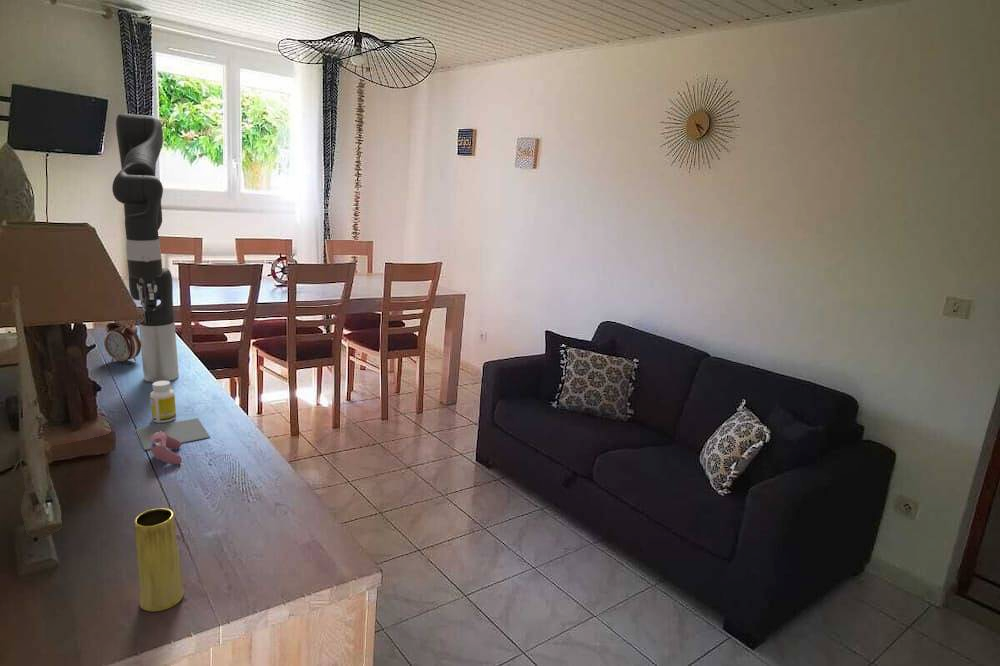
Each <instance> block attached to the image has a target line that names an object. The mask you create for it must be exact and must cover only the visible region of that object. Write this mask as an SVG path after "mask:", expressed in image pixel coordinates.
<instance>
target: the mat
mask: <svg viewBox="0 0 1000 666" xmlns="http://www.w3.org/2000/svg"><path fill="white" fill-rule="evenodd" d="M160 431H161V432H164V433H166V434H167V435H169V436H170V437H173V438H175V439H177V440H178V441H179V442H180V443H181V445H182V444H187V443H191V442H190V441H192V442H195V440H197V441H200V440H199V439H202V440H205V439H204V438H207V439H209V438H208V437H210V438H211V435H210V434H209V433H208V431H207V430H206V428H205V427H204V426H203V423H202V422H201V420H199V418H197V417H196V418H191V419H185V420H180V421H174V422H173V421H172V422H166V423H161V424H156V425H152V426H146V427H140V428H135V432H136V435H137V437H138V439H139V441H140V443H141V446H142V448H143V450H144V451H150V450H151V448H150V447H151V446H152V444H151V436H152V435H153V434H155V433H156V432H158V433H159V432H160ZM186 442H187V443H186Z"/></svg>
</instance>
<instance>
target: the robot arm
mask: <svg viewBox="0 0 1000 666" xmlns="http://www.w3.org/2000/svg"><path fill="white" fill-rule="evenodd" d="M115 128H116V129H115V131H116V138H117V145H118V151H119V158H120V160H119V161H120V166H121V167H120V168H121V169H120V170H119V172H118V173H117V174H116V175H115V177H114V178H113V182H112V194H113V197H114V198H115V200H117V202H119V203H121V204H123V207H124V208H123V210H124V212H123V213H124V228H125V237H126V239H125V241H126V243H125V249H126V251H125V252H126V263H127V270H128V271H127V272H128V287H129V293H130V296H131V297H132V300H134V301H140V305H141V308H142V310H143V311H142V312H140V313H142V314H143V317H144V321H143V322H141V323H139V322H138V326H139V327H138V328H139V339H140V342H141V350H140V352H141V361H142V371H143V380H144V381H145V382H147V383H154V382H157V381H169V382H172V381H174V380H177V378H179V376H180V374H179V360H178V350H177V336H176V324H175V312H174V311H175V310H174V299H173V298H174V297H173V295H174V292H173V285H174V284H173V276H172V272H171V270H169V269H168V268H166V267H163V259H162V249H161V244H160V239H159V230H160V229H161V226H162V223H163V211H162V210H163V209H162V208H163V207H162V200H163V199H162V198H163V194H164V187H163V183H162V181H161V180H160V179H159V178H158V177H156V169H157V168H156V167H157V161H158V159H159V156H160V153H161V151H162V148H163V144H164V143H163V142H164V133H163V125H162V122H161V121H160V119H159V118H158V117H156V116H153V115H146V114H145V115H144V114H132V113H118V115H117V116H116V120H115ZM158 301H160V303H159V304H158Z"/></svg>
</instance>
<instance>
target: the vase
mask: <svg viewBox="0 0 1000 666" xmlns="http://www.w3.org/2000/svg"><path fill="white" fill-rule="evenodd" d="M133 525H134V535H135V547H136V559H137V560H136V562H137V575H138V583H139V586H138V587H139V607H140V608H141V610H143V611H145V612H161V611H165V610H168V609H171V608H173V607H175V606H176V605H177V604H179V603H180V602H181V601H182V599H183V597H184V595H185V591H184V588H183V578H182V571H181V562H180V555H179V554H180V553H179V548H178V540H177V531H176V519H175V514H174V511H173V510H172V509H170V508H163V507H159V508H152V509H147V510H145V511H142V512H141V513H139V514H138V515H137V516H136V517H135V519H134V521H133Z"/></svg>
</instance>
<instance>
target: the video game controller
mask: <svg viewBox="0 0 1000 666" xmlns="http://www.w3.org/2000/svg"><path fill="white" fill-rule="evenodd" d="M151 444H152V446H151V447H150V448H151V453H152V454H153V456H154V458H156V459H157V460H160V461H161V462H163V463H166V464H169V465H172V466H177V465H181V463H182V462H183V459H182V457H181V456H180V454H178V453H176V452H173V451H172V450H177V449H180V448H181V446H182V444H181V443H180V442H179V441H178V440H177V439H175V438H173V437H170V436H169V435H167V434H166V433H164V432H161V431H160V432H159V433H158V432H156V433H155V434H153V435H152V436H151ZM170 449H171V450H170Z"/></svg>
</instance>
